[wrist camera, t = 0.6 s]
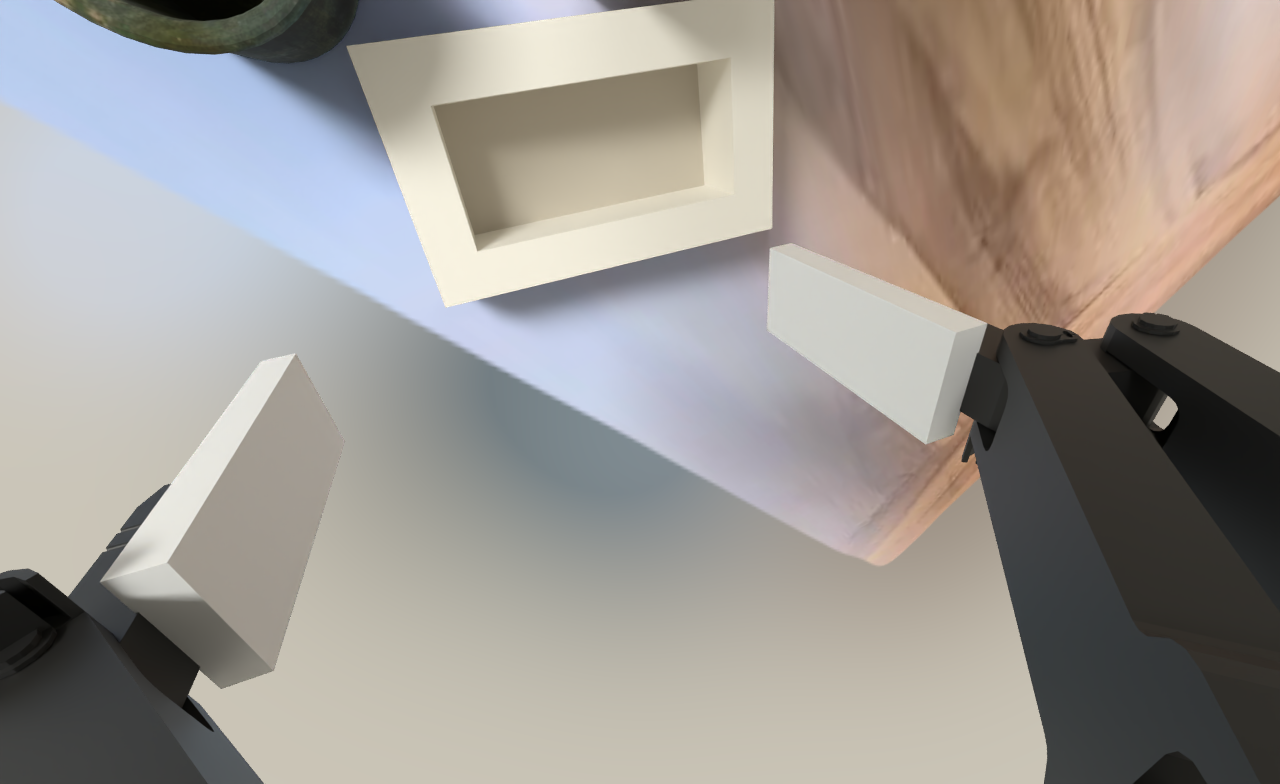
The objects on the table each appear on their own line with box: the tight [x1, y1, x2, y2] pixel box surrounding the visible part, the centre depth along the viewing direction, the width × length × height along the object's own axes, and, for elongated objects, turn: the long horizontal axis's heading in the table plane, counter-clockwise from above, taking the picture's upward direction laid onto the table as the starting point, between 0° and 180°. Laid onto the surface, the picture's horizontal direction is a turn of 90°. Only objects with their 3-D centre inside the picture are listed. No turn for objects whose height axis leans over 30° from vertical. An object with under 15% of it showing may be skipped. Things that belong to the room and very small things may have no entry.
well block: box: [346, 0, 774, 307], centre depth 33 cm, size 14×24×6 cm, turn 98°
